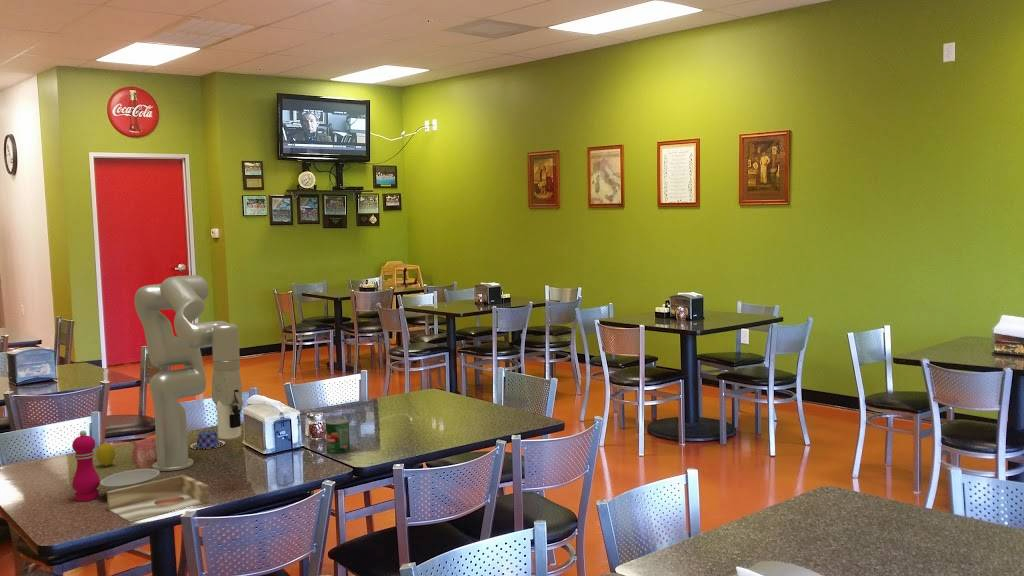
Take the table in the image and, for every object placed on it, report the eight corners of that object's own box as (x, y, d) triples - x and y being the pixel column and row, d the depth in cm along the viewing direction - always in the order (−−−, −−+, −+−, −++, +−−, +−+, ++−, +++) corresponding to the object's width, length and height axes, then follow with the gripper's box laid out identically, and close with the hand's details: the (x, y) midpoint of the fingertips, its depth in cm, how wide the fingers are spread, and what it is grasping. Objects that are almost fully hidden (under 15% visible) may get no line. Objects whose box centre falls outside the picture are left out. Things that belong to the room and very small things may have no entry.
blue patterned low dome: (205, 452, 301) (205, 437, 301) (182, 448, 307) (182, 434, 307) (232, 444, 312) (232, 430, 311) (209, 440, 318) (209, 426, 317)
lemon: (93, 467, 284) (92, 444, 283) (107, 463, 289) (105, 439, 288) (106, 469, 281) (104, 445, 281) (119, 464, 287) (118, 441, 286)
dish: (137, 482, 266) (136, 466, 266) (172, 487, 260) (171, 471, 260) (88, 499, 250) (87, 482, 250) (124, 505, 244) (123, 488, 244)
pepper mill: (82, 503, 247) (77, 434, 245) (68, 499, 251) (63, 431, 249) (105, 496, 253) (101, 429, 251) (91, 492, 257) (87, 426, 255)
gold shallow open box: (107, 509, 241) (106, 491, 241) (184, 490, 257) (183, 474, 256) (129, 522, 230) (128, 504, 229) (208, 502, 245) (208, 485, 245)
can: (234, 440, 253) (232, 399, 252) (214, 439, 254) (212, 399, 253) (244, 434, 259) (243, 395, 258) (224, 434, 260) (223, 394, 259)
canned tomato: (353, 450, 299) (352, 418, 299) (344, 456, 292) (343, 424, 291) (332, 449, 301) (331, 418, 300) (322, 455, 294) (321, 423, 293)
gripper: (200, 364, 258) (203, 423, 259) (229, 370, 246) (232, 432, 248) (223, 361, 263) (226, 418, 265) (253, 367, 252) (255, 427, 253)
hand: (229, 424), depth 256 cm, fingers closed on can, 6 cm apart
